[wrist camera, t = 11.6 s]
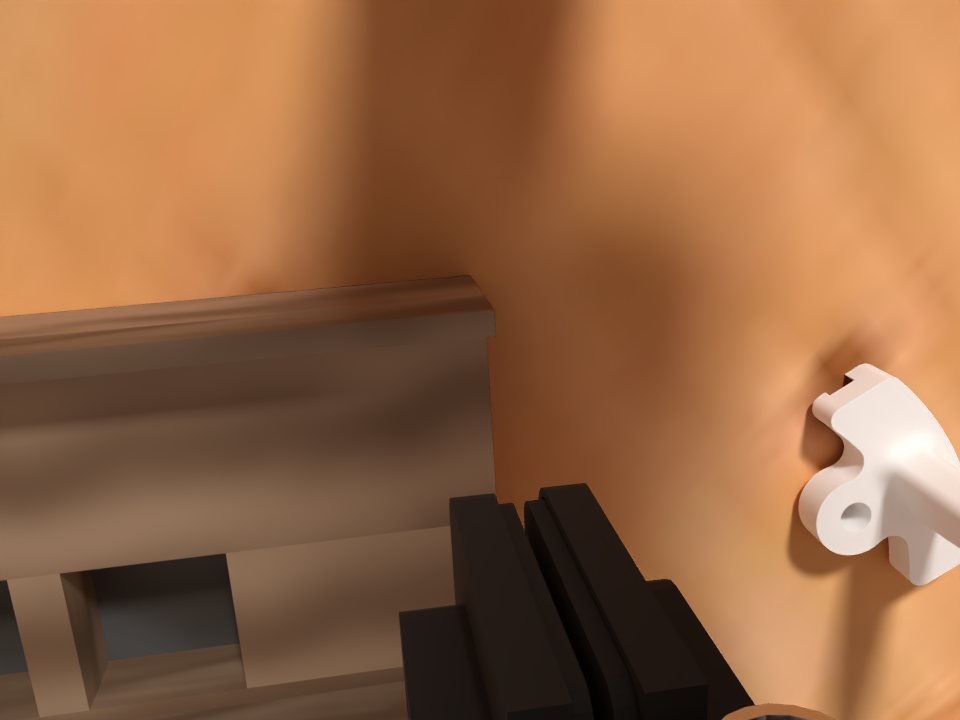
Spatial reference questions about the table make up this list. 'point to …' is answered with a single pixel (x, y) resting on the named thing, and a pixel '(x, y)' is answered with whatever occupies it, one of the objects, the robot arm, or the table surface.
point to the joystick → (886, 478)
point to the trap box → (234, 498)
